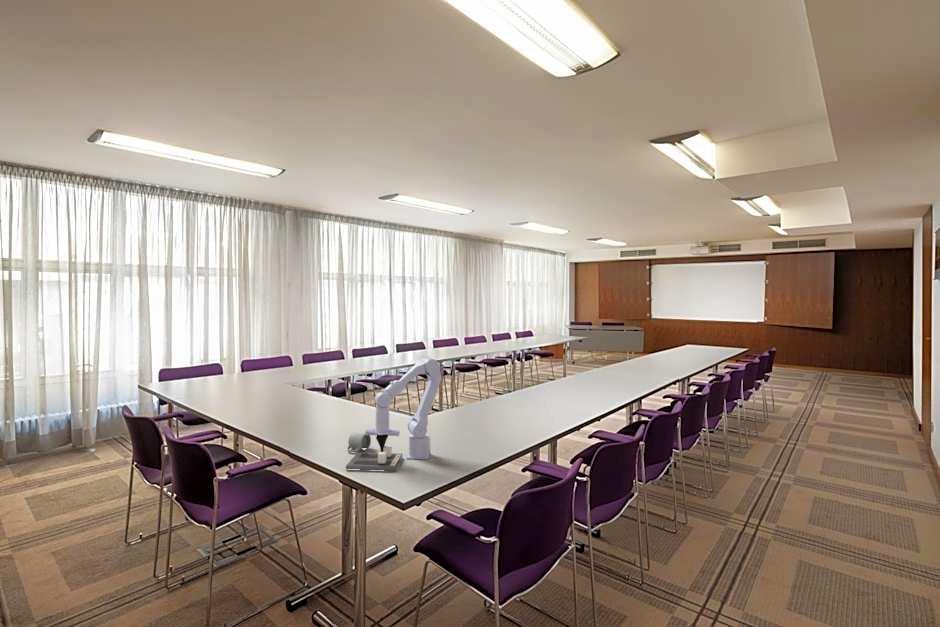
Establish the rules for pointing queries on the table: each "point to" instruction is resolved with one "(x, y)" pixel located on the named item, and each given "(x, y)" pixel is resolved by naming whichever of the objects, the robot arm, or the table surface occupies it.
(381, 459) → the switch tab
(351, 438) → the ceramic mug
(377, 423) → the robot arm
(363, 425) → the table surface
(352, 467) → the switch panel
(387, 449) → the switch tab
